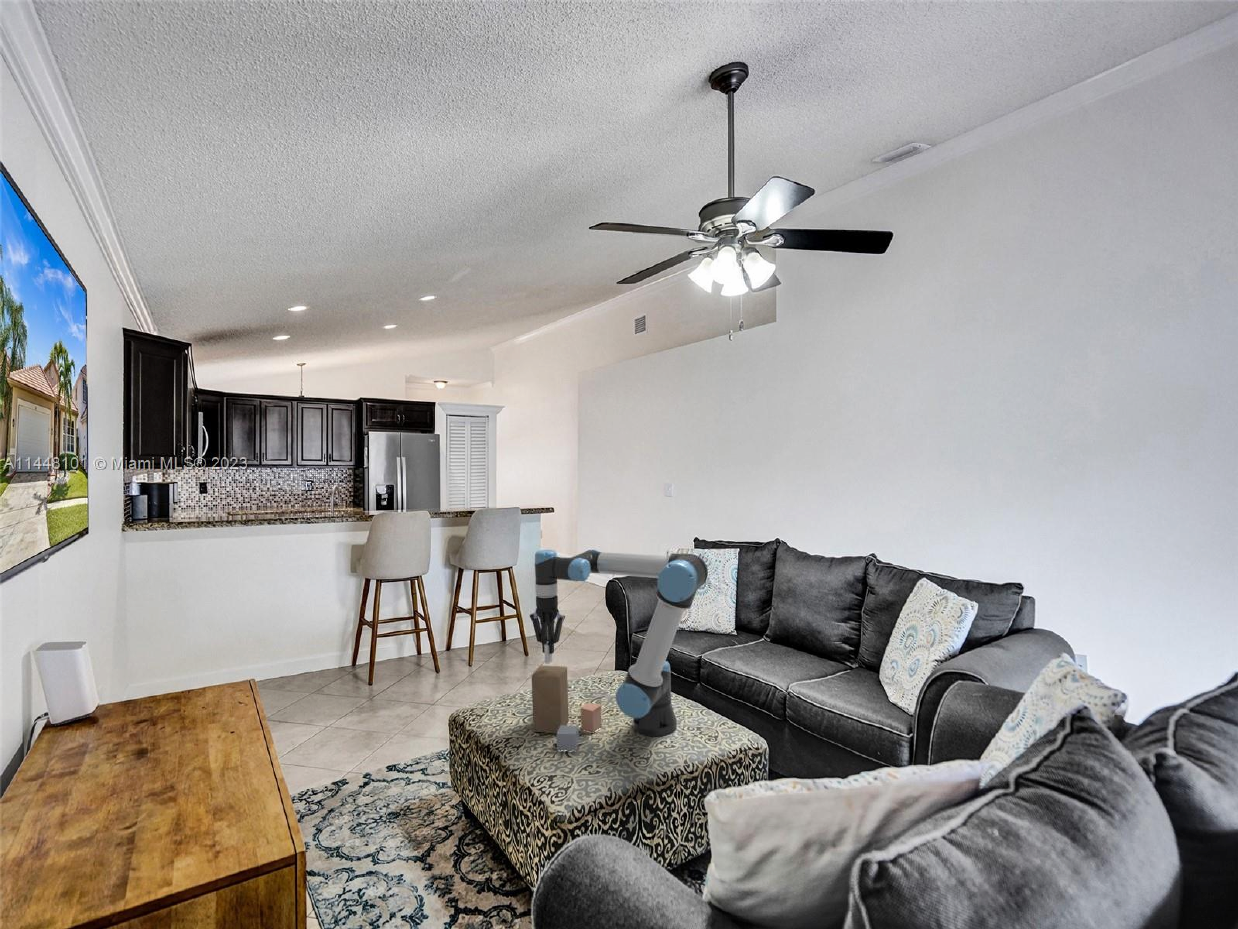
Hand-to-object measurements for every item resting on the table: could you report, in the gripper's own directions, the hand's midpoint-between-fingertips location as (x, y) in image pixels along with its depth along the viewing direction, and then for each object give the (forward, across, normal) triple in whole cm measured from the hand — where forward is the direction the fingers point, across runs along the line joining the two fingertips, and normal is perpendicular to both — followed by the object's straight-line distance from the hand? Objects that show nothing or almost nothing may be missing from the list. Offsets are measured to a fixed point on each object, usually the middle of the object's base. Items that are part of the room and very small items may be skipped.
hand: (548, 662), depth 220 cm
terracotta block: (+23, -14, -3) cm, 27 cm away
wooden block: (+23, 0, 0) cm, 23 cm away
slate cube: (+23, -12, +11) cm, 28 cm away
